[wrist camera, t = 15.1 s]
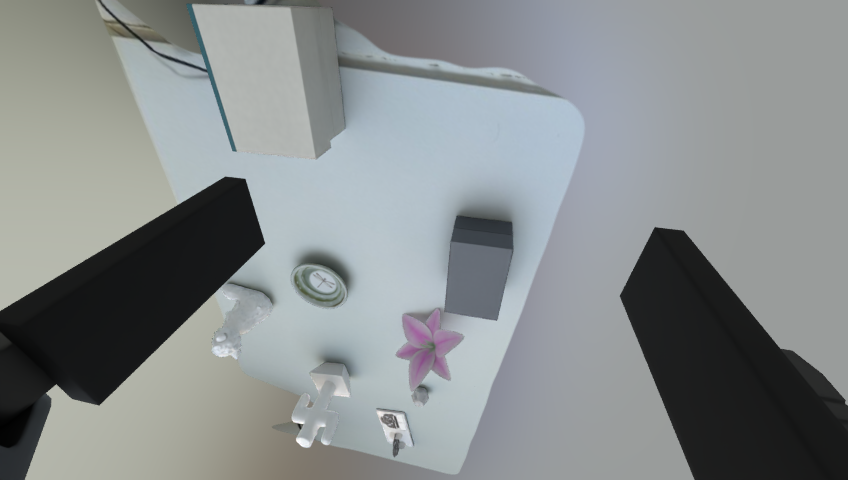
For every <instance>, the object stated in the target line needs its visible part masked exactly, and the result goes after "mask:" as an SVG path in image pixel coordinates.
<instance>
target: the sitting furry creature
mask: <svg viewBox="0 0 848 480" xmlns="http://www.w3.org/2000/svg"><path fill="white" fill-rule="evenodd" d="M221 290H222V291H223V292H222V293H223V294H224V295H225V296H226V298H227V299H231V300H237V301H236V303H235V305H234V308H233V309H232V310H231V311H229V312H226V319H225V322H224V323H223V327H222V328H219V329H218V331H216V332H214V334H215V335H214V338H212V345H213V348H212V352H213V353H214V354H215V355H217V356H218V357H226V356H228V355H231V356H232V357H233V358H235V359H237V358H238V357H239V355H240V354H241V350H240V349H239V348H240V347H241V346H242V345H241V336H240V335H243V334H244V333H248V332H249V331H250V330H252V329H253V327H254V326H256V325H257V324H258V323H260V322H262V321H263V320H264V319H266V318H267V317H269V315H270V313H271V311H272V306H273V305H272V303H271V301H270V299H269V298H268V297H267V296H266V295H265V294H264V293H262V292H259V291H258V290H252V289H249V288H245V287H242V286H238V285H235V284H224V285H223V286H222V288H221Z"/></svg>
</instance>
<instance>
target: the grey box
mask: <svg viewBox="0 0 848 480" xmlns="http://www.w3.org/2000/svg"><path fill="white" fill-rule="evenodd" d="M512 253H513V231H512V223H511V222H503V221H495V220H486V219H478V218H470V217H462V216H456V221H455V225H454V229H453V234H452V238H451V244H450V255H449V266H448V277H447V289H446V300H445V311H444V312H448V313H454V314H460V315H466V316H472V317H478V318H484V319H490V320H496V321H497V319H498V315H499V310H500V306H501V302H502V297H503V293H504V288H505V284H506V280H507V275H508V271H509V266H510V262H511V258H512Z"/></svg>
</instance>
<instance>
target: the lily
mask: <svg viewBox="0 0 848 480" xmlns="http://www.w3.org/2000/svg"><path fill="white" fill-rule="evenodd" d="M402 323H403V329H404V333H405V336H406V338H407V340H408V342H407V343H406V344H404V345H403V346H402V347H401V348H400V349H399V350H398V351H397V352H396V354H395V355H396V356H397V357H399V358H402V359H405V360H410V364H409V385H410V390H411V391H414V390H415V389H416V388H417V387H418V386H419V385H420V383H421V382H422V381H423V379H424V378H425V377H426V375H427V374H428V373H429V371H430V370H432V371H433V372H435V373H436V374H437V375H439V376H441V377H442V378H444V379H446V380H451V376H450V372H449V368H448V365H447V361H446V358H445V355H446V354H447V353H448V352H450V351H451V350H452V349H453V348H454V347H456V346H457V345H458V344H459V343H460V342H461V341H462V340H463V339H464V336H463V334H460V333H458V332H454V331H449V330H443V329H440V310H439V308H437V309H436V310H435V311H434V312H433V313H432V314H431V315H430V317H429V318H428V320H427V321H426V323H425V324H424V323H422V322H421V321H419V320H417V319H415V318H413V317H411V316H409V315H407V314H403V315H402Z"/></svg>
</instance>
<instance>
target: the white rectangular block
mask: <svg viewBox="0 0 848 480" xmlns="http://www.w3.org/2000/svg"><path fill="white" fill-rule="evenodd" d="M224 5H247V4H224ZM255 6H282V5H255ZM286 7H311V6H286ZM311 8H312V14H313V21H314V28H315V35H316V42H317V50H318V57H319V64H320V71H321V78H322V86H323V93H324V100H325V107H326V115H327V122H328V129H329V136H330V140H331V139H333V138H334V137H335V136H337V135H338V134H339V133H341V132H342V131H343V130H345V121H344V111H343V102H342V93H341V84H340V74H339V65H338V56H337V46H336V37H335V28H334V19H333V9H332V7H311Z"/></svg>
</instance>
